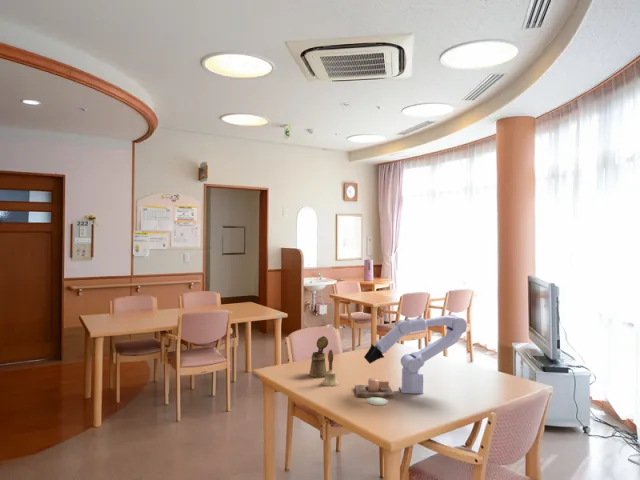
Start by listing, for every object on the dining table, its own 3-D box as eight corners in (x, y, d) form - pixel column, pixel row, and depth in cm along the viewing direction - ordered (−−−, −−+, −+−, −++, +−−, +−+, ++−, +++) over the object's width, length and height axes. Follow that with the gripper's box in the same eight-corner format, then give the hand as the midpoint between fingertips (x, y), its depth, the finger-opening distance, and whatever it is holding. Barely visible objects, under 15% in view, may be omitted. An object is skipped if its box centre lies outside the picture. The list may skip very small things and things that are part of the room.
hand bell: (324, 386, 209) (325, 352, 209) (319, 381, 217) (320, 348, 217) (341, 385, 211) (342, 351, 211) (336, 380, 219) (336, 347, 219)
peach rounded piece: (368, 394, 199) (369, 381, 199) (367, 391, 204) (367, 377, 204) (389, 395, 200) (389, 381, 200) (387, 391, 205) (387, 378, 205)
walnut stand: (389, 388, 208) (389, 385, 208) (393, 397, 196) (393, 394, 196) (354, 388, 208) (354, 384, 208) (357, 397, 196) (357, 393, 196)
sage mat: (385, 398, 196) (385, 397, 196) (389, 405, 187) (389, 405, 187) (365, 397, 195) (365, 396, 195) (367, 405, 186) (367, 404, 186)
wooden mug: (331, 371, 234) (332, 336, 234) (324, 378, 221) (325, 342, 221) (315, 369, 236) (316, 335, 236) (306, 376, 223) (307, 340, 224)
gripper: (380, 331, 212) (358, 351, 211) (386, 335, 198) (363, 356, 197) (390, 343, 212) (368, 362, 211) (396, 347, 198) (373, 368, 196)
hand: (366, 360), depth 204 cm, fingers open, 7 cm apart
